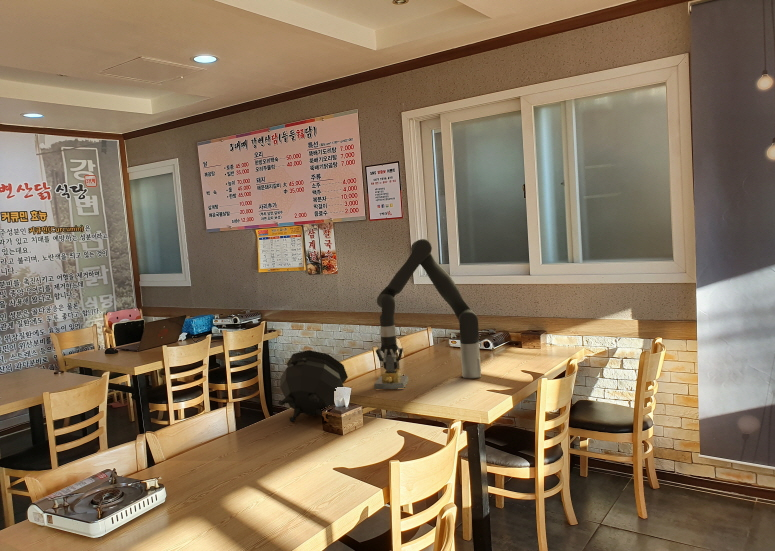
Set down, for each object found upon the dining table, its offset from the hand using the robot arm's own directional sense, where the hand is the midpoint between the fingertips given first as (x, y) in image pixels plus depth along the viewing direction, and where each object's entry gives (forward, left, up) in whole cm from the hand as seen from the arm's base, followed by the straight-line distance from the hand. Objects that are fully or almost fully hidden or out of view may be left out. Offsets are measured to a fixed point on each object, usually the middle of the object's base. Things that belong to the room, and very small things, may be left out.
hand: (390, 369), depth 286 cm
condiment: (+2, -19, -9) cm, 21 cm away
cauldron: (+24, +46, -8) cm, 53 cm away
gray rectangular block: (0, 0, -3) cm, 3 cm away
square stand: (0, 0, -8) cm, 8 cm away
